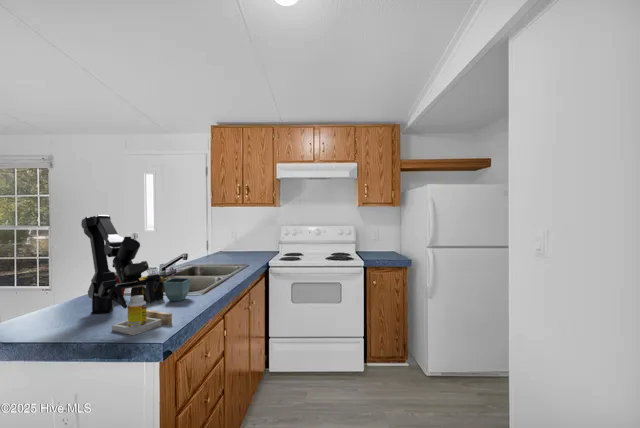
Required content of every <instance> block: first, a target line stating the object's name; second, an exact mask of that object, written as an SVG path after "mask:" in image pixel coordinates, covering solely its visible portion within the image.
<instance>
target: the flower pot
mask: <svg viewBox="0 0 640 428" xmlns="http://www.w3.org/2000/svg"><path fill="white" fill-rule="evenodd" d="M191 280H192V279H191V278H189V277H188V278H187V277H186V278H179V277H178V278H177V277H174V278H170V279H168V280H164V285H163V290H164V293H165V296H166V298H167V300H168V301H170V302H181V301H183V300H184V299H186V297H187V296H188V294H189V292H190V286H191Z"/></svg>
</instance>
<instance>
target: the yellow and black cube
mask: <svg viewBox="0 0 640 428" xmlns="http://www.w3.org/2000/svg"><path fill="white" fill-rule="evenodd" d="M147 276H148V275H146V276H141V278H139V280H146V278H147ZM164 282H165V279H164V277H162V276H161V281H160V283H159V285H158V286H157V288H155V289H153V290H152V302H156V301H160V300H164V298H165V297H164V293H165V292H164ZM130 289H131V291H130V297H132V296H136V295H143V296H144V300H143V301H146V304H147V303H149V302H148V300H147V298H146V296H145V293H144V289H145V287H144V286H139V287H133V288H130Z"/></svg>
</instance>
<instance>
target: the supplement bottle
mask: <svg viewBox="0 0 640 428" xmlns="http://www.w3.org/2000/svg"><path fill="white" fill-rule="evenodd" d="M129 299H130V302H128V304H127V320H128V327H133V328H136V327H138V326H141V325H144V324H146V310H147V303H146V301H143V300H144V296H143V295H136V296H132V297H131V296H130V298H129Z"/></svg>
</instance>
